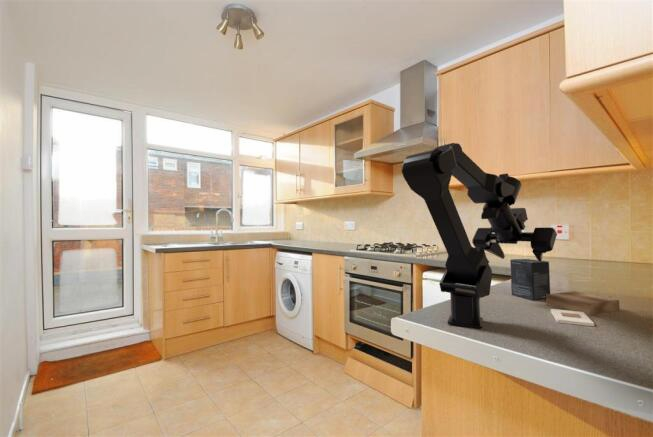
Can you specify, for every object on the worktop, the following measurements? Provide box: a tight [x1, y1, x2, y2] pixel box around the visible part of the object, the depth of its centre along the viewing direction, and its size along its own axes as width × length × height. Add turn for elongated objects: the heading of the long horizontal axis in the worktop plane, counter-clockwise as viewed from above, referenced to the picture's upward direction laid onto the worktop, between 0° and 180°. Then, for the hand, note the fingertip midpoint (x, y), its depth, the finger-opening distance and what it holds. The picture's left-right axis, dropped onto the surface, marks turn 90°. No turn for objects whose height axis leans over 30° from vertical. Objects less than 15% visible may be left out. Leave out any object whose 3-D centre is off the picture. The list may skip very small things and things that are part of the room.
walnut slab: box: [545, 290, 620, 316], centre depth 75 cm, size 10×10×2 cm
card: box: [550, 308, 595, 327], centre depth 67 cm, size 9×6×1 cm, turn 150°
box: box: [509, 258, 551, 302], centre depth 86 cm, size 8×6×11 cm
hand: (521, 258), depth 83 cm, fingers open, 9 cm apart
